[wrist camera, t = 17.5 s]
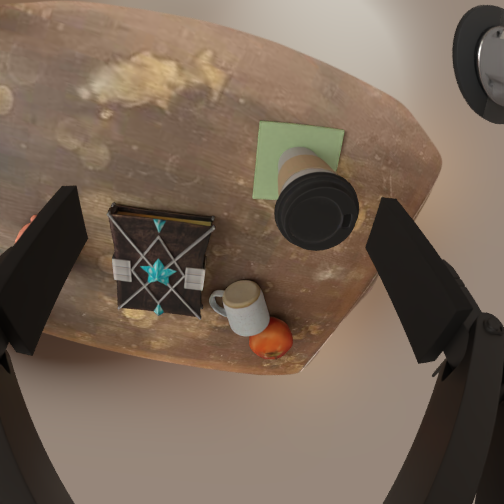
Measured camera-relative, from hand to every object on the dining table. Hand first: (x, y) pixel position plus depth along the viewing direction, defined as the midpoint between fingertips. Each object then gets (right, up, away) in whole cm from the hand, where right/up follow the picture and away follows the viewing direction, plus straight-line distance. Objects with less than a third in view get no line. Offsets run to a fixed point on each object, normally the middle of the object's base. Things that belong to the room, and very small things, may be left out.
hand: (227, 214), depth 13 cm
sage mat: (+8, +11, +32) cm, 35 cm away
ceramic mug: (-2, -10, +48) cm, 49 cm away
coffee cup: (+7, +11, +32) cm, 34 cm away
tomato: (+5, -17, +54) cm, 57 cm away
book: (-15, -3, +42) cm, 44 cm away
